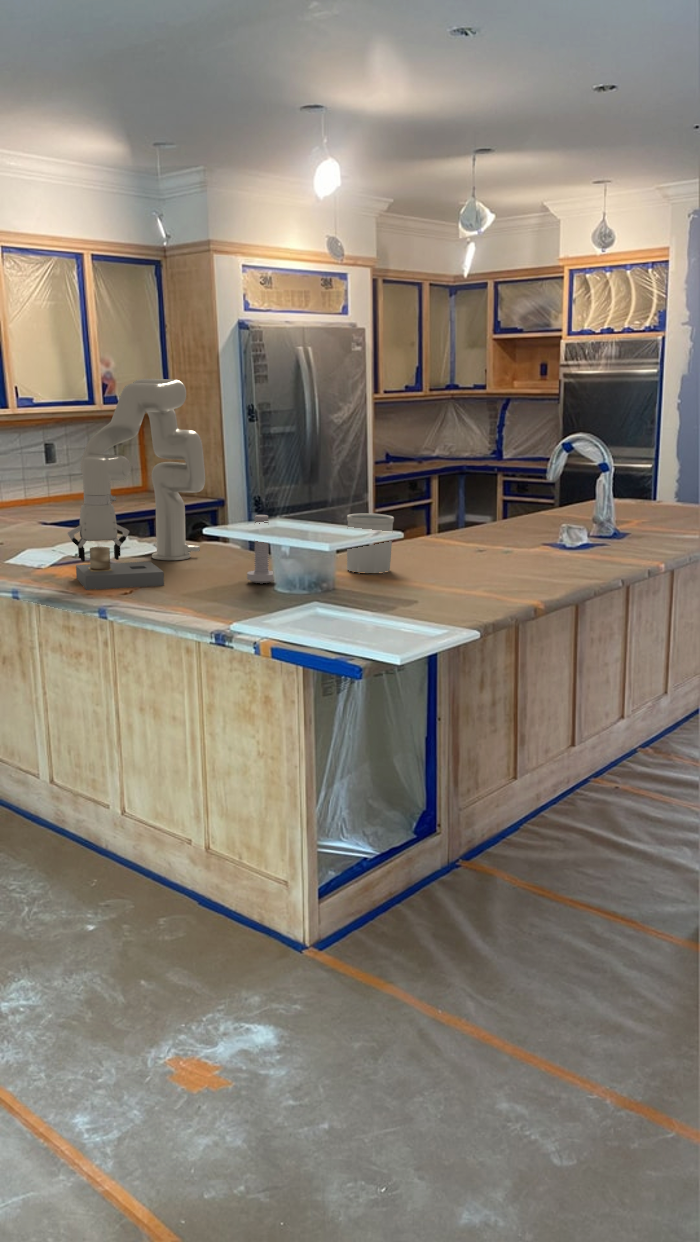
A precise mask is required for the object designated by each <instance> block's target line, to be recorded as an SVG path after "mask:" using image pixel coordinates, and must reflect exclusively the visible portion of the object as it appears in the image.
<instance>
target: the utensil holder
mask: <svg viewBox="0 0 700 1242" xmlns="http://www.w3.org/2000/svg"><path fill="white" fill-rule="evenodd" d="M346 520H347V528H348V527H354V528H362V529H372V530H382V531H392V532H393V530H394V529H393V527H394V522H395V517H394V516H392V515H387V514H381V513H369V512H368V513H365V512H364V513H352V514H350V513H349V514H347V515H346ZM392 544H393V540H392V541H389V542H384V543H379V544H375V545H370V546H363V547H358V548H352V549H347V548H346V569H347V571H348V570H349V571H348V572H350V571H355V572H365V573H379V572H385V571H389V570H391V560H392V559H391V558H392ZM389 572H390V571H389Z"/></svg>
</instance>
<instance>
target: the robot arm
mask: <svg viewBox="0 0 700 1242" xmlns="http://www.w3.org/2000/svg"><path fill="white" fill-rule="evenodd" d="M119 396H120V397H119V398H118V402H117V405H116V407H115V409H114V412H113V414H112V418H111V421H110V422H109V423H108V424H106V425H105V426H103V427H101V428H100V429H99V430H98V431H97V432H96V433H95V434H94V435H92V436H91V438H89V440H88V441H87V443H86V446H85V448H84V452H83V453H82V457H81V460H80V471H81V474H82V485H83V486H82V487H83V504H82V505H80V506H81V507H80V512H79V525H78V526H77V527H74V528H73V529H71V530H69V531H68V532H67V535H68V537H69V539H70V541H72V542H73V544H75V545H76V547H77V550H78V553H77V554H78V559H80V561H81V562H85V560H86V557H85V554H86V553H85V547H84V545H85V544H86V543H87V542H93V541H98V542H99V541H113V542H114V545H113V556H114V557H113V558H114V559H115V560H117V561H119V558H120V557H121V547H122V545H123V543H125V541H126V540H127V537H128V536H129V534H130V530H129V529H127V528H126V527H123V526H121V525H119V524H117V516H116V511H115V507H114V506H115V505H114V504H112V503H113V502H116V501H117V496H116V495H112V489H111V482H121V481H125V480H126V479H128V477H129V476H130V474H131V471H132V465H131V462H130V460H129V459H128V458H127V457H126V456H124V455H121V454H106V453H105V452H106V451H107V450H109V449H111V448H112V447H114V446H116V445H120V444H122V443H124V442H128V441H130V440H132V439H134V438H135V437H136V436H137V435H138V434H139V433H140V429H141V425H142V423H143V419H144V418H145V414H146V413H147V416H148V418H149V419H148V420H149V424H150V432H151V439H152V440H151V441H152V449H153V453H154V455H155V456H156V457H157V458H160V459H165V460H179V462H178V461H176V462H175V461H164V462H163V461H162V462H159V463H157V464H156V465H154V466H153V468H152V471H151V482H152V486H153V490H154V501H155V503H154V504H155V529H156V530H155V533H156V540H155V542H156V551H155V552H154V553H152V554H151V558H152V559H154V560H159V561H183V560H187V559H191V552H201V551H200V550H201V547H200V545H190V544H188V543H186V507H185V506H186V505H185V502H184V499H183V498H182V496H181V495H180V493H193V494H194V493H200V492H201V491H203V490H204V487H205V484H206V470H205V458H204V448H203V441H202V438H201V437H200V434H199V433H198V432H196V431H194V430H190V429H180V428H179V427H178V420H177V419H178V418H177V415H176V411H175V410H176V409H178V408H181V407H182V406H183V405H184V403H185V401H186V399H187V389H186V386H185V384H184V383H183V382H182V381H180V380H178V379H170V378H169V379H164V378H162V379H161V378H140V379H136V380H135V381H134V382H132V383H129V384H127V385H125V386H124V388H122V391H121V394H120V395H119ZM104 453H105V454H104ZM181 460H182V461H185V462H180V461H181ZM118 531H120V532H121V533H122V535H121V536H120V537H119V538H118ZM77 533H79V536H80V539H79V540H78V539H77V538H76V537H75V535H76V534H77Z"/></svg>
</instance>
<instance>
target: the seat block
mask: <svg viewBox="0 0 700 1242" xmlns="http://www.w3.org/2000/svg"><path fill="white" fill-rule="evenodd" d="M110 567H111V569H109V570H100V571H98V570H91V569H90V563H89V564H76V565H75V573H76V575H75V576H76V579H77V581H78V582H79V583H80V584H81V586H82V587H83V586H84V587H83V588H84V590H86V591H91V590H90V589H96V590H107V589H108V590H110V589H111V588H113V589H125V588H127V589H129V588H141V587H143V588H144V587H145V588H146V587H158V586H159V587H160V586H165V578H164V577H165V575H164V573H165V572H164V571H163V570H162V569H161V568H159V567H158V566H157V565H155V564H154V563H152V562H151V561H133V562H132V561H131V562H129V561H128V562H110Z"/></svg>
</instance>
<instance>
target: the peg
mask: <svg viewBox="0 0 700 1242" xmlns="http://www.w3.org/2000/svg"><path fill="white" fill-rule="evenodd" d="M110 551H111V550H110V547H109V546H93V547H90V548H89V564H90V569H91V570H98V571H100V570H109V569H111V567H110V563H111V552H110Z"/></svg>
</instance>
